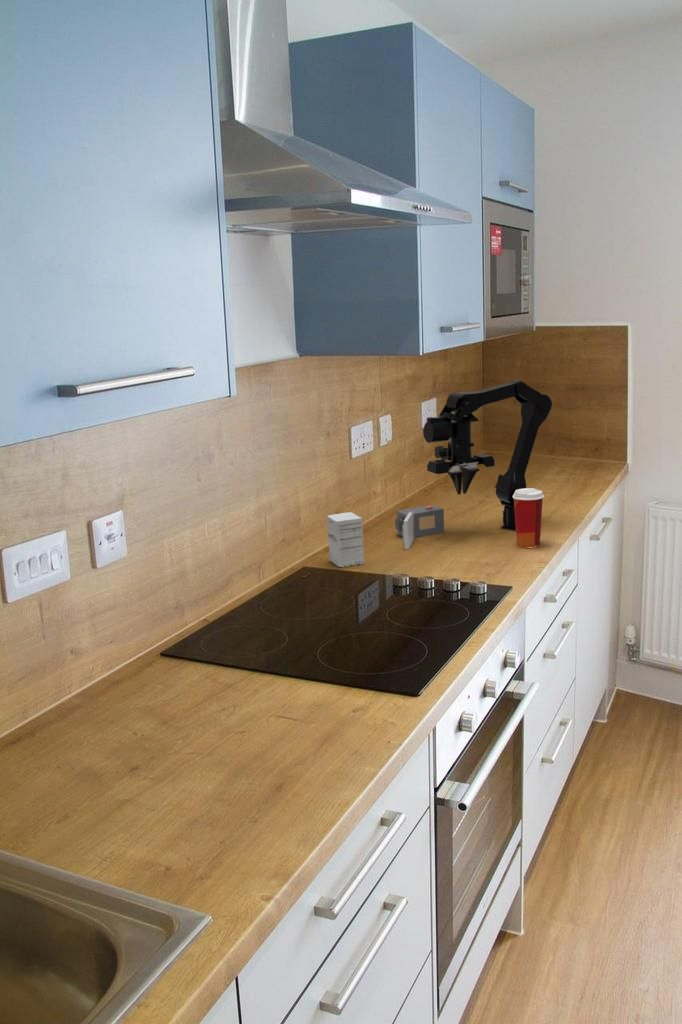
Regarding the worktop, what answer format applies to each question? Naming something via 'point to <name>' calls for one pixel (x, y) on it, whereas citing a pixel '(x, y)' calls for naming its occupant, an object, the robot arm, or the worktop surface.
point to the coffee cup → (528, 516)
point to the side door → (408, 530)
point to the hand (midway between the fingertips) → (461, 493)
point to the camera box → (422, 520)
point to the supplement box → (345, 539)
